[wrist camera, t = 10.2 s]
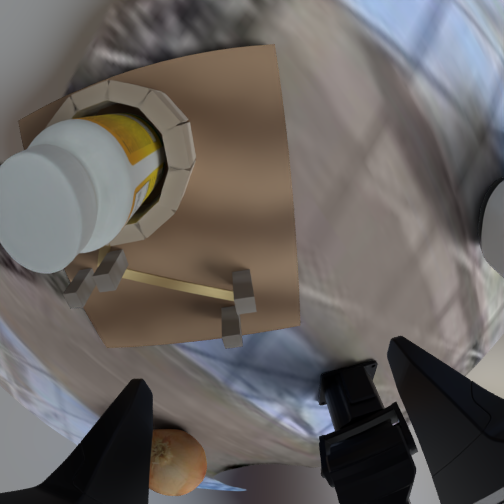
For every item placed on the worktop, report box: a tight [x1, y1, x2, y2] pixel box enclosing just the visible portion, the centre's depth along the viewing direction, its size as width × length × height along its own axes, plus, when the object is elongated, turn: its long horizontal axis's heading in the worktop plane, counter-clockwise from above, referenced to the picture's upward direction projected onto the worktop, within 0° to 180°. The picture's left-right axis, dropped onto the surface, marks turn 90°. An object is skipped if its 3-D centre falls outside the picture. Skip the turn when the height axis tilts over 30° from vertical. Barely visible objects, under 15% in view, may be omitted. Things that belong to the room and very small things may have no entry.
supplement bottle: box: [0, 113, 166, 273], centre depth 11 cm, size 5×5×10 cm
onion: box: [149, 429, 207, 496], centre depth 28 cm, size 10×10×10 cm
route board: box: [19, 44, 300, 349], centre depth 16 cm, size 20×17×4 cm
